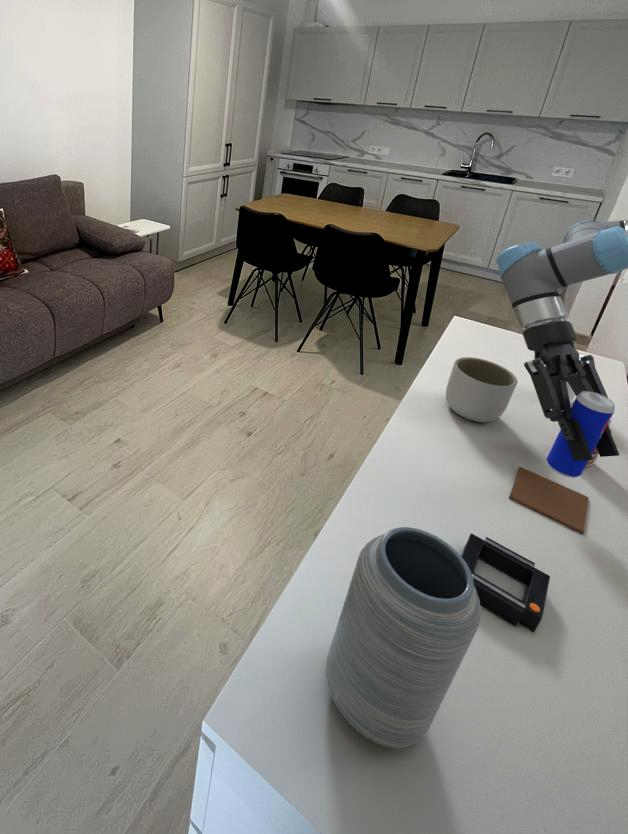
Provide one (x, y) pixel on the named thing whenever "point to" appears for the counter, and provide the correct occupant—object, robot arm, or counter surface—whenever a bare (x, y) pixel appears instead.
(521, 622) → the frame
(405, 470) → the counter surface
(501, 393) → the planter
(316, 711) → the counter surface
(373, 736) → the vase
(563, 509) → the cork mat
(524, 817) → the counter surface
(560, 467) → the beverage can
